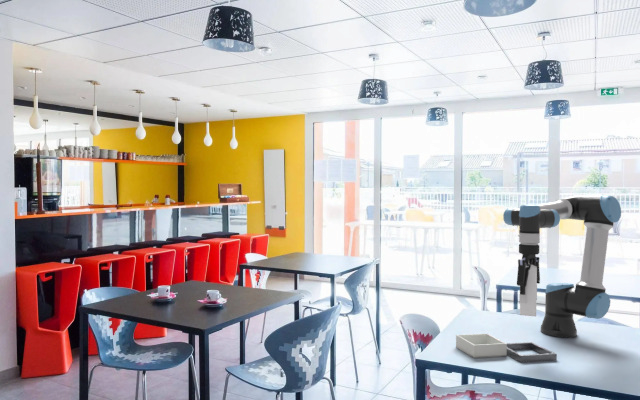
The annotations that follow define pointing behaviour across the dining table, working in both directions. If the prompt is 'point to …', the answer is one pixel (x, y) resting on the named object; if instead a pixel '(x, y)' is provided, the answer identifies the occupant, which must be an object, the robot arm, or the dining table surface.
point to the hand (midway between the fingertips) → (528, 301)
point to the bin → (481, 345)
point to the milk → (530, 294)
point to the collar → (543, 356)
